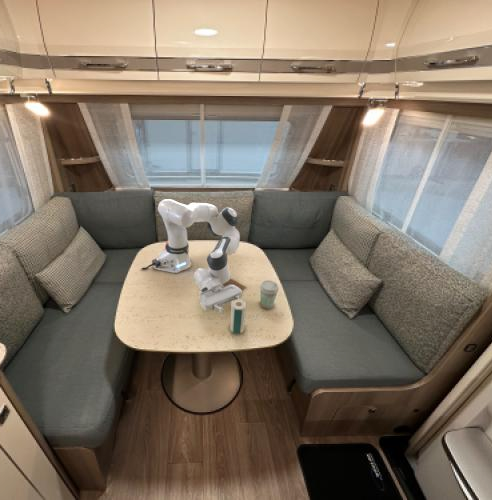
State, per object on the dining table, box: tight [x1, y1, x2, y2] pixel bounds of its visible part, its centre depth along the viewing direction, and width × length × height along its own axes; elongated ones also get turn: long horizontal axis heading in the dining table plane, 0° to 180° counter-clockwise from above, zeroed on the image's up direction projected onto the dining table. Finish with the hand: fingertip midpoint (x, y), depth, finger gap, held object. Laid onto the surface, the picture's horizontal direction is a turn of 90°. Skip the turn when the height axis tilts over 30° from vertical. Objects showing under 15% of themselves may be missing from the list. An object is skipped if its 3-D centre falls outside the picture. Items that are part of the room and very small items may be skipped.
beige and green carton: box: [229, 298, 247, 335], centre depth 113 cm, size 6×6×14 cm
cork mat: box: [223, 278, 246, 291], centre depth 142 cm, size 18×14×1 cm
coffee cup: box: [259, 280, 280, 310], centre depth 127 cm, size 8×8×12 cm
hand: (231, 307), depth 117 cm, fingers open, 8 cm apart
